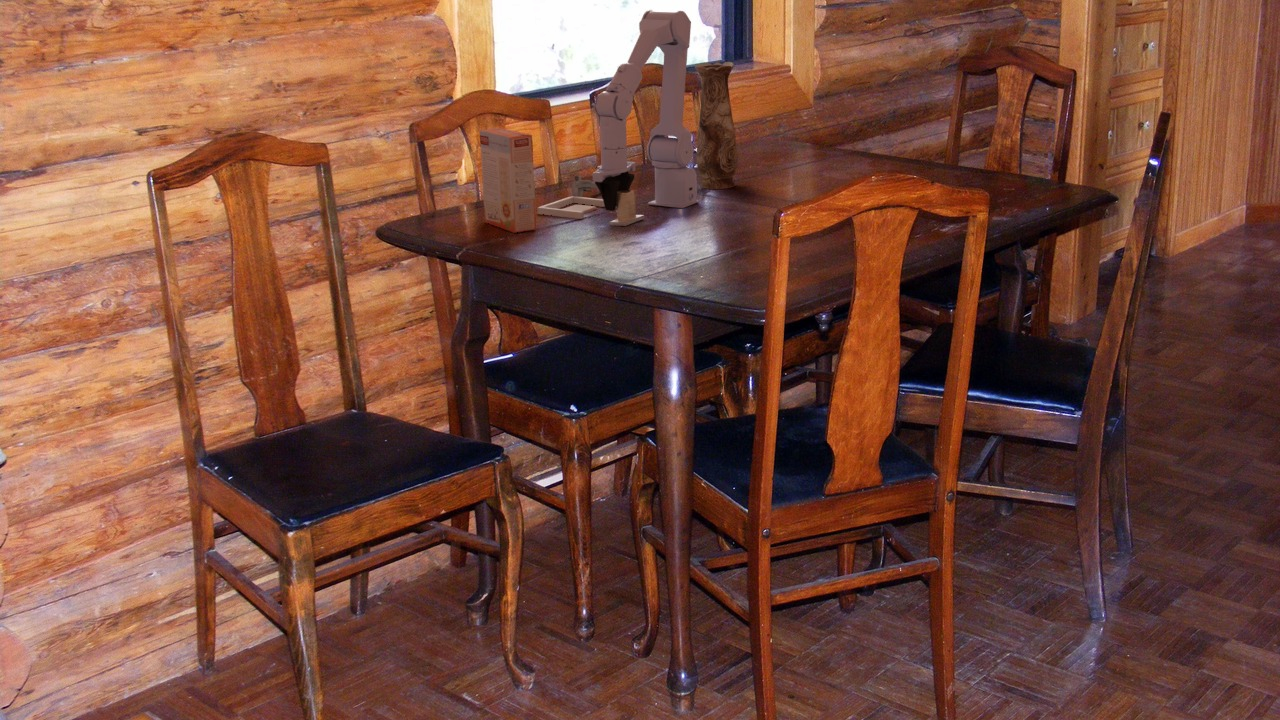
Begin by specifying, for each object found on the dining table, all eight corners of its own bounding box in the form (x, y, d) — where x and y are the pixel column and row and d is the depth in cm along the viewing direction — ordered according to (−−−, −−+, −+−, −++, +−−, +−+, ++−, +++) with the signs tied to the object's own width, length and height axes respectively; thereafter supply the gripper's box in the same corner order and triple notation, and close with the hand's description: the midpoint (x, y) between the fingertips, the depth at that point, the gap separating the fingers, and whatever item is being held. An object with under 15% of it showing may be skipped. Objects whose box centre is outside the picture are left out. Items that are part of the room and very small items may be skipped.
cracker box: (538, 230, 276) (533, 134, 269) (513, 234, 273) (508, 137, 266) (507, 219, 287) (502, 126, 280) (483, 222, 284) (478, 129, 277)
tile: (597, 211, 295) (596, 206, 295) (582, 216, 290) (582, 211, 290) (576, 209, 298) (575, 204, 298) (561, 214, 293) (560, 209, 293)
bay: (614, 207, 297) (614, 200, 296) (581, 219, 285) (580, 212, 285) (572, 202, 303) (571, 196, 302) (537, 213, 291) (537, 207, 291)
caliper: (576, 202, 303) (575, 176, 301) (572, 202, 304) (571, 176, 302) (621, 187, 320) (620, 162, 318) (617, 187, 320) (617, 162, 318)
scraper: (644, 218, 284) (641, 188, 282) (625, 225, 277) (622, 195, 275) (629, 218, 286) (626, 188, 284) (609, 225, 279) (607, 194, 277)
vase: (739, 189, 312) (739, 65, 303) (695, 190, 313) (694, 66, 303) (736, 181, 322) (737, 61, 312) (694, 182, 322) (694, 61, 313)
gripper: (616, 141, 286) (617, 200, 290) (580, 151, 274) (582, 213, 278) (642, 143, 282) (644, 203, 286) (607, 153, 270) (609, 216, 275)
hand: (615, 208), depth 282 cm, fingers open, 4 cm apart
